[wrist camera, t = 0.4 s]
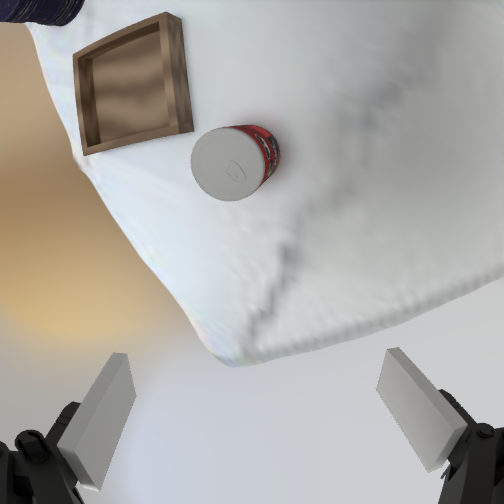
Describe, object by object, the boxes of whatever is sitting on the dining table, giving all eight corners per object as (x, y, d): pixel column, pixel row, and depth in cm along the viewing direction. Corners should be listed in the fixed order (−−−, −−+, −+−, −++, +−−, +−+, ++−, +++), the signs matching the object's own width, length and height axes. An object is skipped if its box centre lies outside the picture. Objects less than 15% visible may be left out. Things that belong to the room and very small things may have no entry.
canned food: (268, 189, 41) (248, 214, 31) (216, 166, 41) (181, 184, 31) (290, 138, 37) (276, 145, 27) (234, 116, 37) (202, 117, 28)
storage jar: (54, 35, 36) (-5, 33, 23) (52, 2, 32) (-3, -4, 19) (88, 8, 33) (26, -4, 19) (85, -25, 29) (28, -40, 16)
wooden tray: (90, 56, 37) (72, 54, 33) (181, 19, 32) (166, 11, 28) (101, 151, 44) (83, 156, 40) (193, 131, 39) (179, 133, 35)
